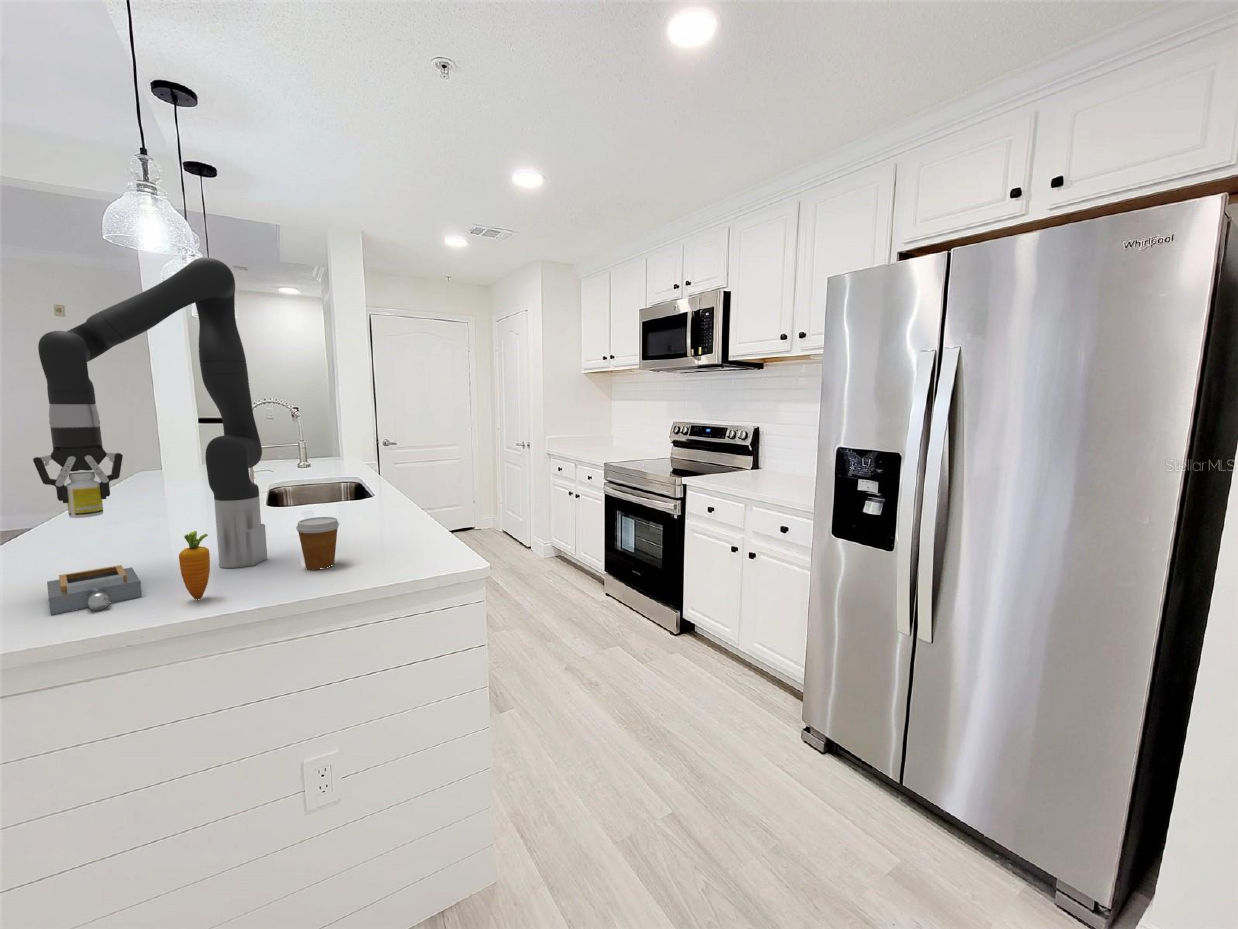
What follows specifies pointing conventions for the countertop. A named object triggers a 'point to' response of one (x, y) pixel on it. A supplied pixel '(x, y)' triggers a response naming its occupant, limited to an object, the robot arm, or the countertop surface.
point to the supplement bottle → (84, 495)
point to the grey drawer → (92, 589)
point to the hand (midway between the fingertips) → (84, 500)
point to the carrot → (195, 565)
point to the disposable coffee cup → (318, 541)
